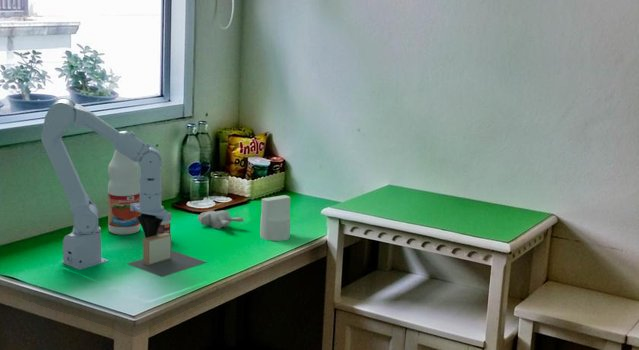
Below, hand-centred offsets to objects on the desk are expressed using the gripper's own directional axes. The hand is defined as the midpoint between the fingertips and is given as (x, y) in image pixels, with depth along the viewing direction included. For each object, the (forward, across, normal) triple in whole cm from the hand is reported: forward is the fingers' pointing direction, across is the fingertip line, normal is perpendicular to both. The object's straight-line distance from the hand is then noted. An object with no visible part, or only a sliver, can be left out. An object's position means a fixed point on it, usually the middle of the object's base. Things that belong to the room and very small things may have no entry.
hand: (150, 241), depth 227 cm
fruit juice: (+6, +26, -12) cm, 29 cm away
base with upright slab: (+6, -9, -41) cm, 42 cm away
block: (+5, -3, 0) cm, 6 cm away
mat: (+5, -6, -1) cm, 8 cm away
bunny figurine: (+6, +10, -36) cm, 38 cm away
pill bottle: (+6, +10, -13) cm, 18 cm away
